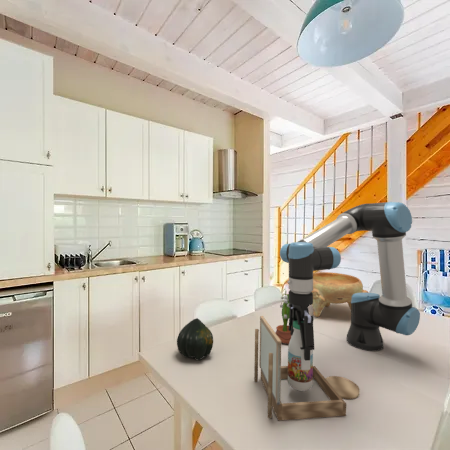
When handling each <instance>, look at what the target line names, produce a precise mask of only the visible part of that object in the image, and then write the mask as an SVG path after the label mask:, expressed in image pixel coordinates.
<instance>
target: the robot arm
mask: <svg viewBox="0 0 450 450" xmlns="http://www.w3.org/2000/svg"><path fill="white" fill-rule="evenodd" d="M412 223H413V216H412V213H411V211H410V209H409V207H408V206H407V205H405V203H402V202H400V201H387V202H386V201H385V202H384V201H383V202H375V203H374V202H373V203H372V202H371V203H362V204H360V205H356V206H354V207H352V208H351V207H350V208H349V209H347V210H346V211H344V212H342V213H340V214H338V215H337V217H336V219H335V220H333V221H331V222H329V223H328V224H326V225H324V226H322V227H321V228H319V229H317V230H316V231H313V232H312V233H310V234H309V235H307V236H304V237H303V238H302V239H300V240H298V241H294V242H291V243H285V244H283V245H282V246H281V248H280V251H279V256H280V258H281V260H282V261H283V262H284V263H288V280H287V284H288V289H289V291H288V294H289V307H290V312H289V319H288V326H289V329H288V330H289V331H290V334H291V335H293V332H294V329H293V322H294V321H295V320H297V322H298V325H299V326H300V333H301V340H302V347H300V349H301V370H310V354H311V350H313V351H315V335H314V332H315V331H314V320H315V319H314V317H315V316H314V315H310V311H309V307H310V306H312V304H313V293H312V291H313V273H314V272H317V271H325V270H327V271H328V270H332V269H335V268H337V267H338V266H340V264H341V262H342V257H341V253H340V251H339V250H338V249H337V248H336V247H334V246H330V245H332V244H334V243H335V242H337V241H338V240H340V239H341V238H343V237H344V236H347V235H352V234H354V233H355V232H356V233H357V232H360V231H361V232H362V231H364V232H365V231H367V232H371V234H372V235H371V236H372V238H374V239H375V240H376V243H377V244H376V245H377V253H378V255H377V256H378V262H379V263H378V264H379V274H380V284H381V293H382V294H381V295H380V294H379V293H376V292H375V293H374V292H369V293H355V294H353V295H352V299H351V309H350V326H349V328H348V331H347V334H346V342H347V343H348V344H349V345H351V347H352V346H353V347H355V348H357V349H360V350H365V351H370V352H371V351H372V352H377V351H382V350H383V349H384V344H385V343H384V340H383V336H382V333H381V330H380V328H382V329H386V330H388V331H391V332H394V333H396V334H400V335H403V336H411V335H412V334H414V332H415V331H417V328H418V326H419V324H420V320H421V313H420V310H419V309H418V308H417V307H415V306H414V307H413V301H412V299H411V298H410V297H408V294H407V293H408V292H407V283H406V282H407V281H406V271H405V269H406V268H405V260H404V248H403V247H404V246H403V239H404V238H405V237H406V236H407V232H409V231H410V230H411V228H412ZM291 337H292V336H291Z"/></svg>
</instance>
